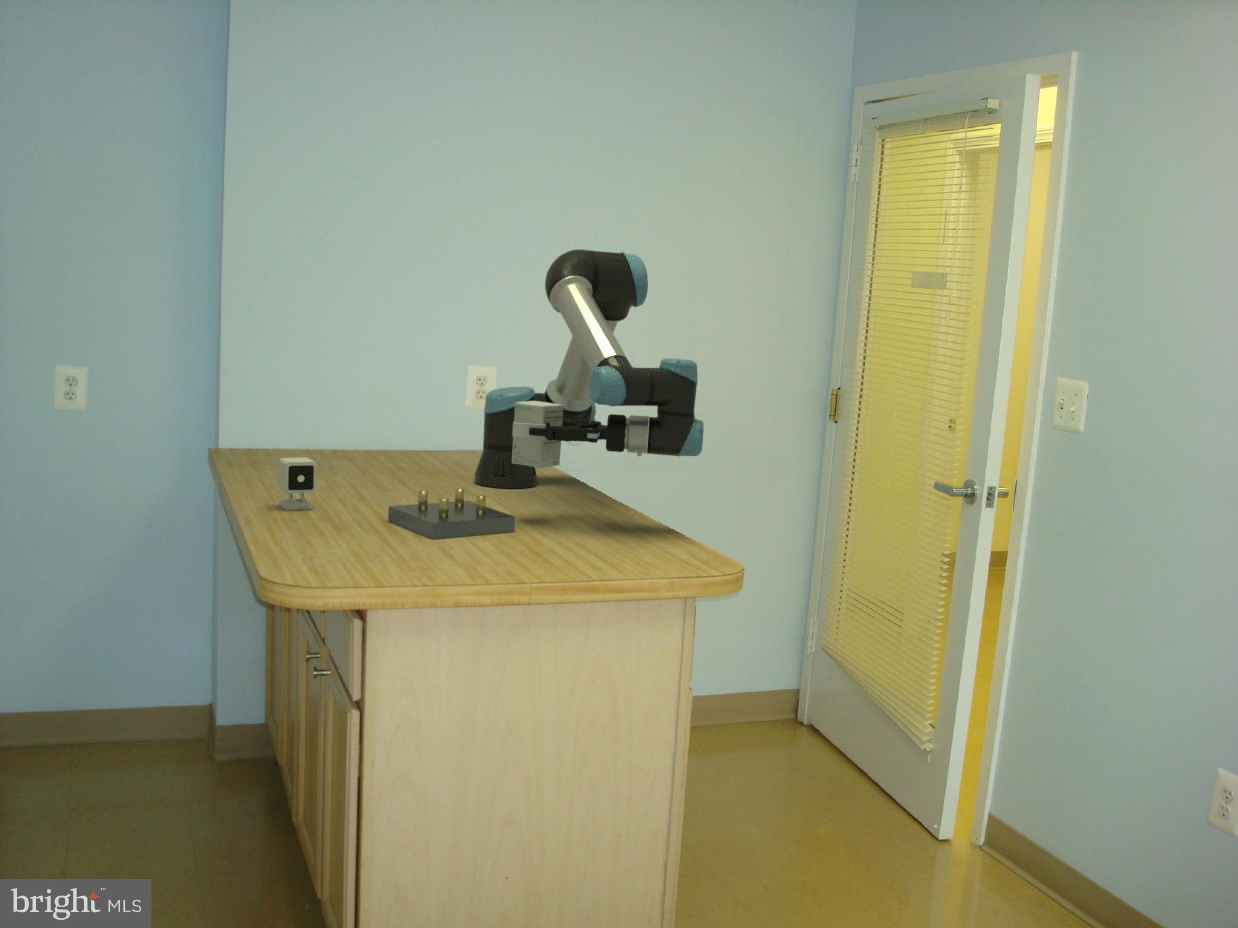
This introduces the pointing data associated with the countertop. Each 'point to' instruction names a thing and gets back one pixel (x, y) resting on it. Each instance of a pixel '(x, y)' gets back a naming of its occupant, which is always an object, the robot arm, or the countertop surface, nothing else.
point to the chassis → (451, 517)
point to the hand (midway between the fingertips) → (516, 426)
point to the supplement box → (537, 449)
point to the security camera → (297, 481)
